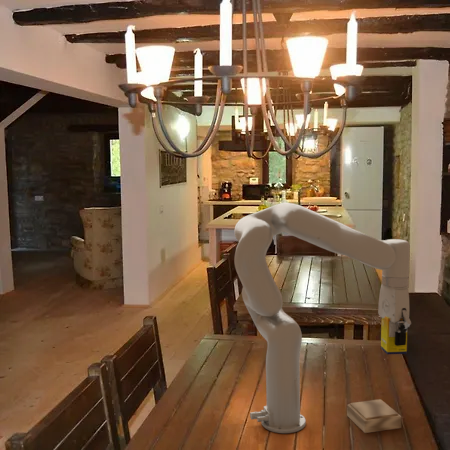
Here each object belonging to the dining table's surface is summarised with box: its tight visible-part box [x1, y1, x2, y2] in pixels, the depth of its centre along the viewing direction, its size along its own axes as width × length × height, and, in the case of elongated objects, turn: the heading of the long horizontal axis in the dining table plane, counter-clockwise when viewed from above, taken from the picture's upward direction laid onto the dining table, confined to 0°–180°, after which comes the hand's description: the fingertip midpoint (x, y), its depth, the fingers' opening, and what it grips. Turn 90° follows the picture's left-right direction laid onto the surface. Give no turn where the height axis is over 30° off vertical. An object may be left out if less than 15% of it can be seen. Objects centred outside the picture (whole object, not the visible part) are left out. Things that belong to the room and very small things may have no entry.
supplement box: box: [380, 316, 408, 355], centre depth 165 cm, size 6×6×11 cm
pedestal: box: [346, 398, 402, 434], centre depth 160 cm, size 11×11×4 cm
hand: (393, 340), depth 165 cm, fingers closed on supplement box, 6 cm apart
